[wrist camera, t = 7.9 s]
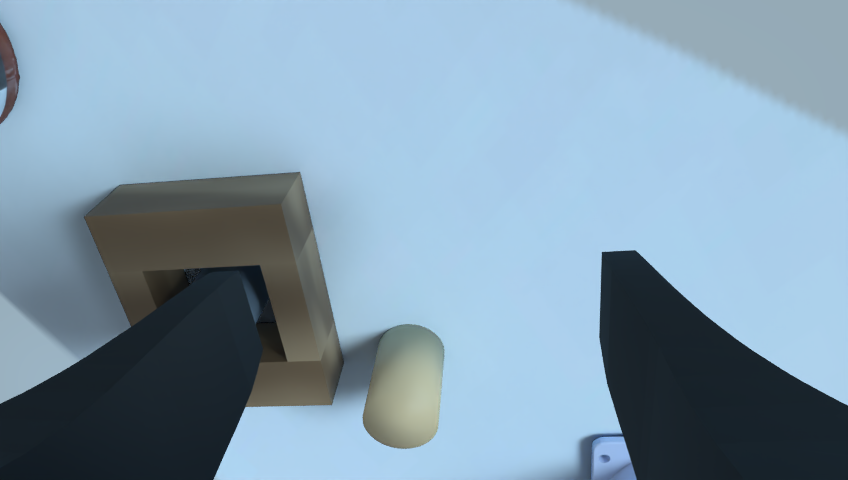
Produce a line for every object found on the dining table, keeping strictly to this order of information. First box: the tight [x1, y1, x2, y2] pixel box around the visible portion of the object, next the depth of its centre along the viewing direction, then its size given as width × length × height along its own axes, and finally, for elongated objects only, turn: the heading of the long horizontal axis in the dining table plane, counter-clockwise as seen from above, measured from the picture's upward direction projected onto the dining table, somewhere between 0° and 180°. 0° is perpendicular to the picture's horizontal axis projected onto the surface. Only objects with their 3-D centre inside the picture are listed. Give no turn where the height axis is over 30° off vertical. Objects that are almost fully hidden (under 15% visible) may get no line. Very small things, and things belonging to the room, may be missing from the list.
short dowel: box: [363, 324, 444, 449], centre depth 25 cm, size 3×3×4 cm
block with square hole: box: [84, 172, 344, 407], centre depth 25 cm, size 9×7×2 cm
